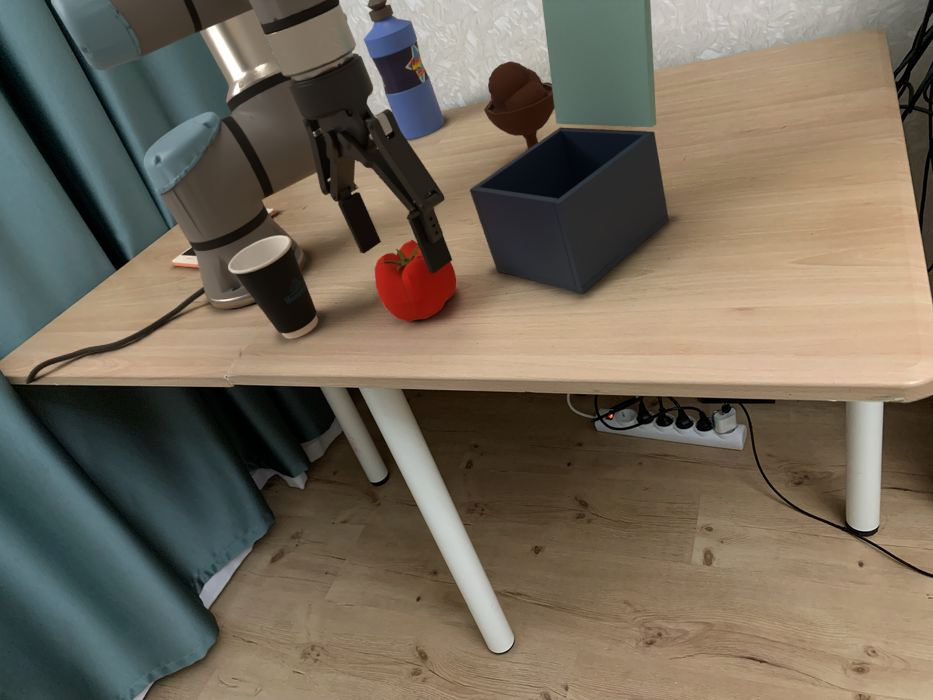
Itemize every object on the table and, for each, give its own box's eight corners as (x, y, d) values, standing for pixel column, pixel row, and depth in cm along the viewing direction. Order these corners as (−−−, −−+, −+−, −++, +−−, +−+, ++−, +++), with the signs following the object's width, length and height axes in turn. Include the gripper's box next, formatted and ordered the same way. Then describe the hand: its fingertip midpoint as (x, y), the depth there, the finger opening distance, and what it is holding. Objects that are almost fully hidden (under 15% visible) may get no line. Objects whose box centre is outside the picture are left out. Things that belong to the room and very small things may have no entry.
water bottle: (394, 143, 136) (342, 9, 122) (409, 124, 143) (362, -4, 129) (436, 133, 132) (388, -5, 119) (450, 114, 139) (406, -19, 125)
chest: (583, 294, 73) (559, 203, 67) (496, 270, 83) (469, 189, 77) (669, 220, 80) (654, 131, 74) (579, 206, 90) (560, 127, 84)
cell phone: (277, 212, 125) (274, 208, 124) (202, 268, 114) (199, 263, 114) (247, 212, 130) (245, 208, 130) (173, 266, 120) (170, 261, 119)
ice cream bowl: (575, 159, 102) (550, 56, 94) (502, 181, 104) (472, 82, 96) (568, 135, 111) (545, 38, 102) (500, 155, 113) (472, 63, 104)
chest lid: (641, -52, 65) (647, -53, 66) (538, -32, 75) (544, -34, 76) (650, 127, 73) (656, 125, 74) (556, 123, 83) (561, 121, 84)
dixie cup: (275, 320, 91) (234, 248, 85) (331, 301, 91) (294, 227, 84) (267, 354, 85) (221, 279, 79) (327, 334, 84) (286, 256, 78)
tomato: (475, 287, 82) (455, 232, 77) (435, 334, 76) (411, 277, 72) (414, 284, 87) (393, 232, 83) (373, 327, 82) (347, 274, 78)
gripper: (430, 40, 58) (502, 255, 70) (294, 56, 77) (369, 225, 88) (361, 77, 55) (449, 296, 67) (237, 85, 73) (322, 256, 85)
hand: (403, 256), depth 77 cm, fingers open, 13 cm apart
